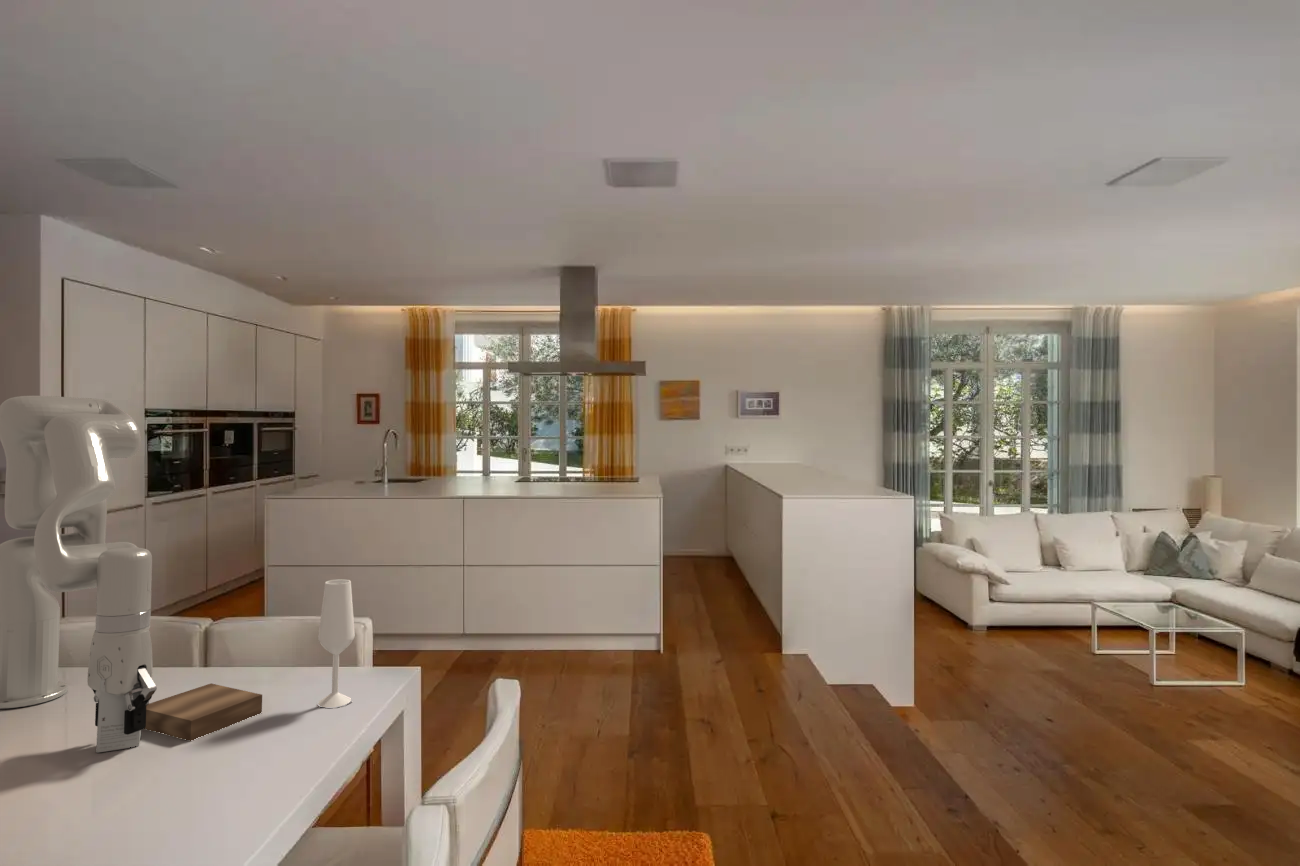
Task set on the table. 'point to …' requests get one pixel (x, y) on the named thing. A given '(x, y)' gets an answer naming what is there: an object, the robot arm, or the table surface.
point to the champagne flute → (336, 631)
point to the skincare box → (113, 722)
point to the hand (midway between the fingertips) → (120, 726)
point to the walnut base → (201, 711)
